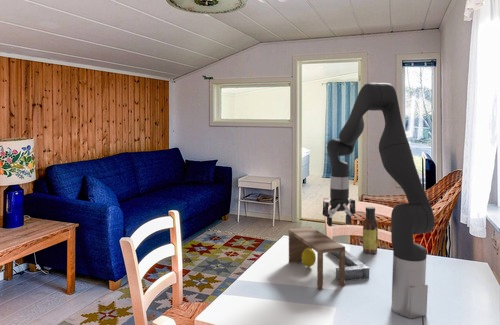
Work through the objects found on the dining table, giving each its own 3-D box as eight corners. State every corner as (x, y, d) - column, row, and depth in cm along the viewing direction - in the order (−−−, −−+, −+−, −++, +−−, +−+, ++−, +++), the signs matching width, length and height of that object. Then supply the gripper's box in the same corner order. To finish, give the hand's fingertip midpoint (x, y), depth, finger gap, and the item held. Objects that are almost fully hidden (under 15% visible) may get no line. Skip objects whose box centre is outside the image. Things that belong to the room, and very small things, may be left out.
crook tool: (335, 251, 166) (335, 242, 165) (369, 278, 137) (369, 268, 137) (310, 253, 164) (310, 244, 163) (339, 281, 135) (339, 271, 135)
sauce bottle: (379, 254, 161) (380, 209, 159) (364, 254, 162) (365, 209, 159) (374, 249, 168) (375, 205, 166) (360, 249, 168) (361, 205, 166)
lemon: (315, 264, 151) (315, 245, 150) (316, 270, 145) (316, 250, 144) (301, 264, 151) (301, 245, 150) (301, 270, 146) (301, 250, 145)
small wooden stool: (344, 285, 131) (345, 246, 130) (319, 289, 128) (319, 250, 127) (310, 259, 156) (310, 226, 154) (288, 262, 153) (288, 229, 151)
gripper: (328, 189, 149) (328, 229, 150) (359, 187, 153) (358, 225, 155) (319, 186, 156) (319, 224, 158) (349, 184, 160) (348, 221, 162)
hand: (338, 225), depth 156 cm, fingers open, 8 cm apart
